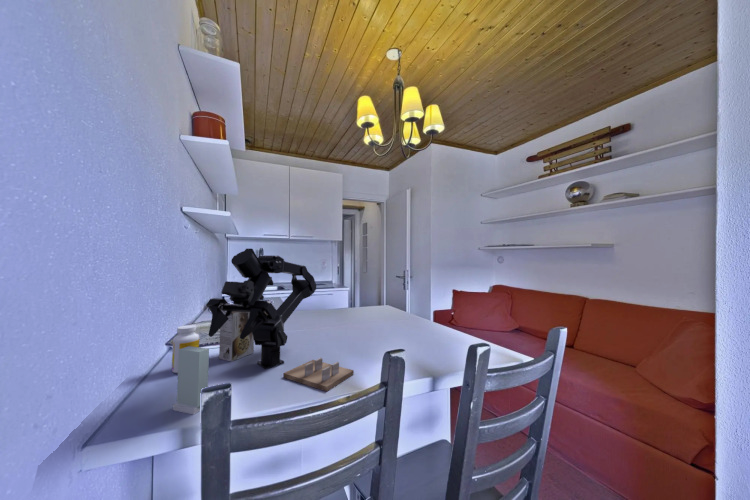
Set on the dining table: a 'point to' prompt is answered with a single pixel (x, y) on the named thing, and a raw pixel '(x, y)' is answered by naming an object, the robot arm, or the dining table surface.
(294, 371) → the hinge base
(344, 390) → the dining table surface
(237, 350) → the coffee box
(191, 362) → the pale green pillar
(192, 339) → the supplement bottle
